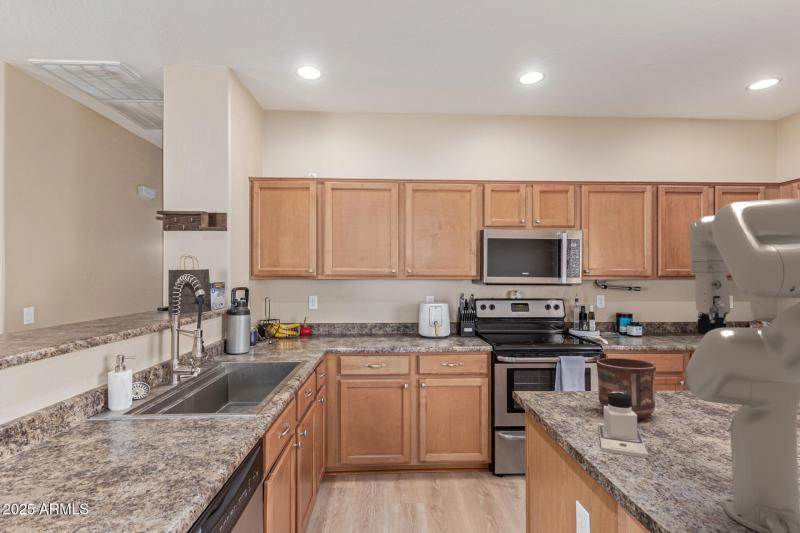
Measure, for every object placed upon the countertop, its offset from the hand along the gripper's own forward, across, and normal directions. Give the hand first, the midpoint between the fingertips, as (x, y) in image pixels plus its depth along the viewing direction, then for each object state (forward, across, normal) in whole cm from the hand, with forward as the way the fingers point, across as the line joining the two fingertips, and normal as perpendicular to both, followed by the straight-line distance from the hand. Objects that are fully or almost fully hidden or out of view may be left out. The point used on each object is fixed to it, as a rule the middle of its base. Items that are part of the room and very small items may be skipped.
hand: (711, 336), depth 98 cm
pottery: (+32, +33, +16) cm, 49 cm away
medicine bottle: (+32, +11, +20) cm, 39 cm away
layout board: (+32, +9, +20) cm, 39 cm away
